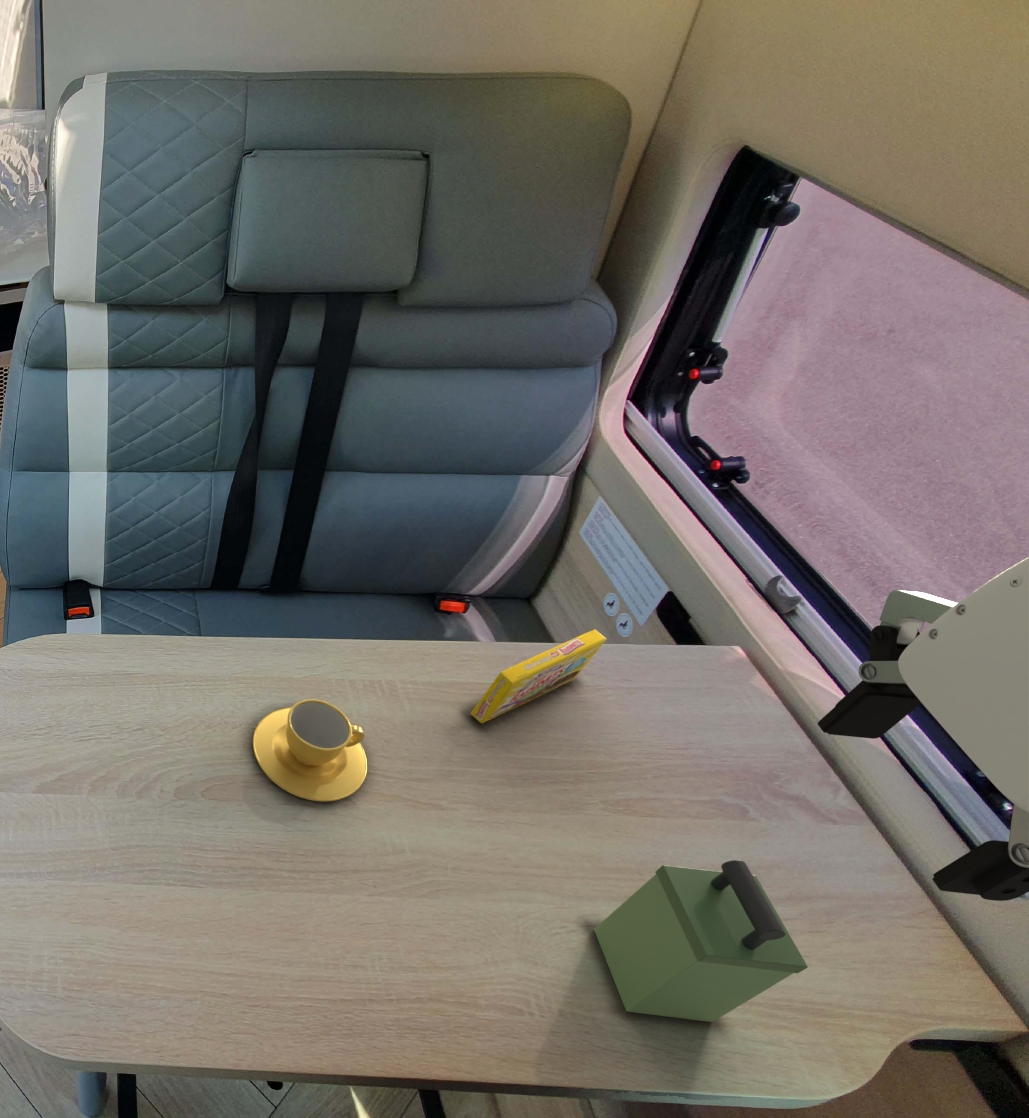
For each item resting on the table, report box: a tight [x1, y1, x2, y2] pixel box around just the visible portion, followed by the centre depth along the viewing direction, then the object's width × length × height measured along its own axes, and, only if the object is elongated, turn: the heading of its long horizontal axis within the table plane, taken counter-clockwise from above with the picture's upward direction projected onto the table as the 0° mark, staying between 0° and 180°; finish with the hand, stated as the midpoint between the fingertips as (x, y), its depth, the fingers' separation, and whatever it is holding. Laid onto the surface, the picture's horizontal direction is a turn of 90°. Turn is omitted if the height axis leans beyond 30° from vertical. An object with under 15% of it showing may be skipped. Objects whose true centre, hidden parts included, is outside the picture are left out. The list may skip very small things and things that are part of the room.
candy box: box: [470, 629, 607, 724], centre depth 91 cm, size 15×2×8 cm, turn 116°
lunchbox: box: [593, 859, 809, 1023], centre depth 66 cm, size 7×8×15 cm
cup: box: [252, 698, 368, 802], centre depth 85 cm, size 12×12×5 cm
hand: (900, 803), depth 45 cm, fingers open, 9 cm apart
